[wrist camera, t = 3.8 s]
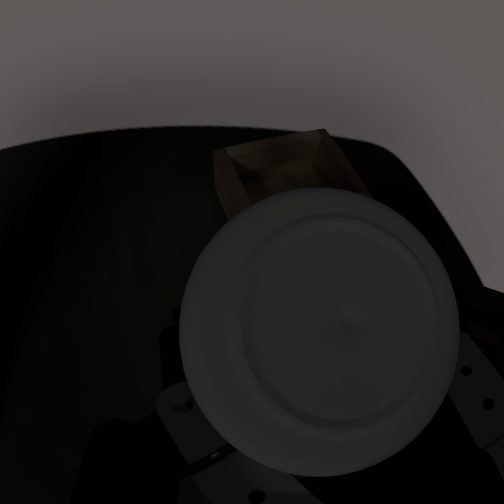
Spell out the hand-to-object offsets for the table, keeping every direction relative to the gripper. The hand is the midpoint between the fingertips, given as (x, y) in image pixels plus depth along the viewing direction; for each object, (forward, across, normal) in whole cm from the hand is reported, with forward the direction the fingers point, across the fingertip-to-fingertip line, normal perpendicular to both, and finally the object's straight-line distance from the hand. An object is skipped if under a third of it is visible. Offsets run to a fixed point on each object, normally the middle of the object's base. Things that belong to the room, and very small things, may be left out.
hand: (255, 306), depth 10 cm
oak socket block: (+9, -6, 0) cm, 11 cm away
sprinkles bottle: (+3, 0, +6) cm, 7 cm away
